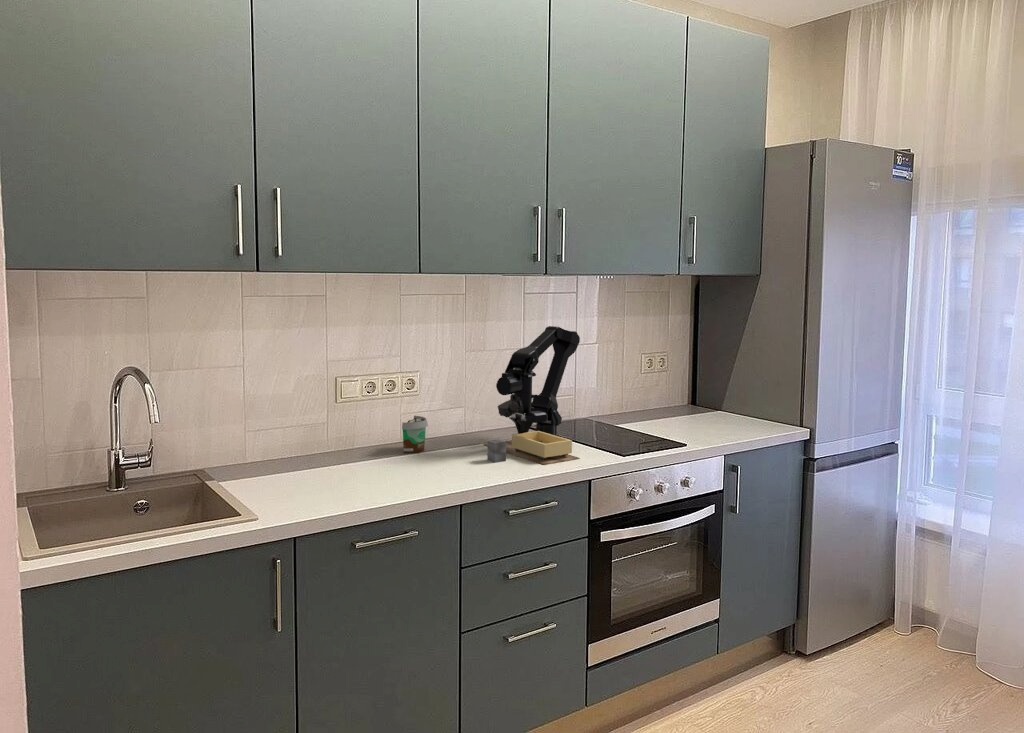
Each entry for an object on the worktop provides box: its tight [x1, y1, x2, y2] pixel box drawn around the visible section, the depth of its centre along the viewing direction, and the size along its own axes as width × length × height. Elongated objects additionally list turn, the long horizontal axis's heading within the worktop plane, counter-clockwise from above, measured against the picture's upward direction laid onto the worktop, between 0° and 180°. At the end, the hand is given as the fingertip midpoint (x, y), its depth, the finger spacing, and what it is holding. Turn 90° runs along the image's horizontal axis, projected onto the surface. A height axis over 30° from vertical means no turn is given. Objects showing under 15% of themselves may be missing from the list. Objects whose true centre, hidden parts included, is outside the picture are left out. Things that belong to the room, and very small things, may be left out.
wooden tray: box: [511, 430, 573, 460], centre depth 259 cm, size 11×17×5 cm, turn 36°
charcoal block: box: [487, 438, 507, 464], centre depth 252 cm, size 4×4×6 cm
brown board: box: [482, 439, 581, 466], centre depth 264 cm, size 14×32×1 cm, turn 36°
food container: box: [401, 415, 429, 455], centre depth 263 cm, size 12×6×10 cm, turn 168°
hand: (522, 439), depth 267 cm, fingers closed
